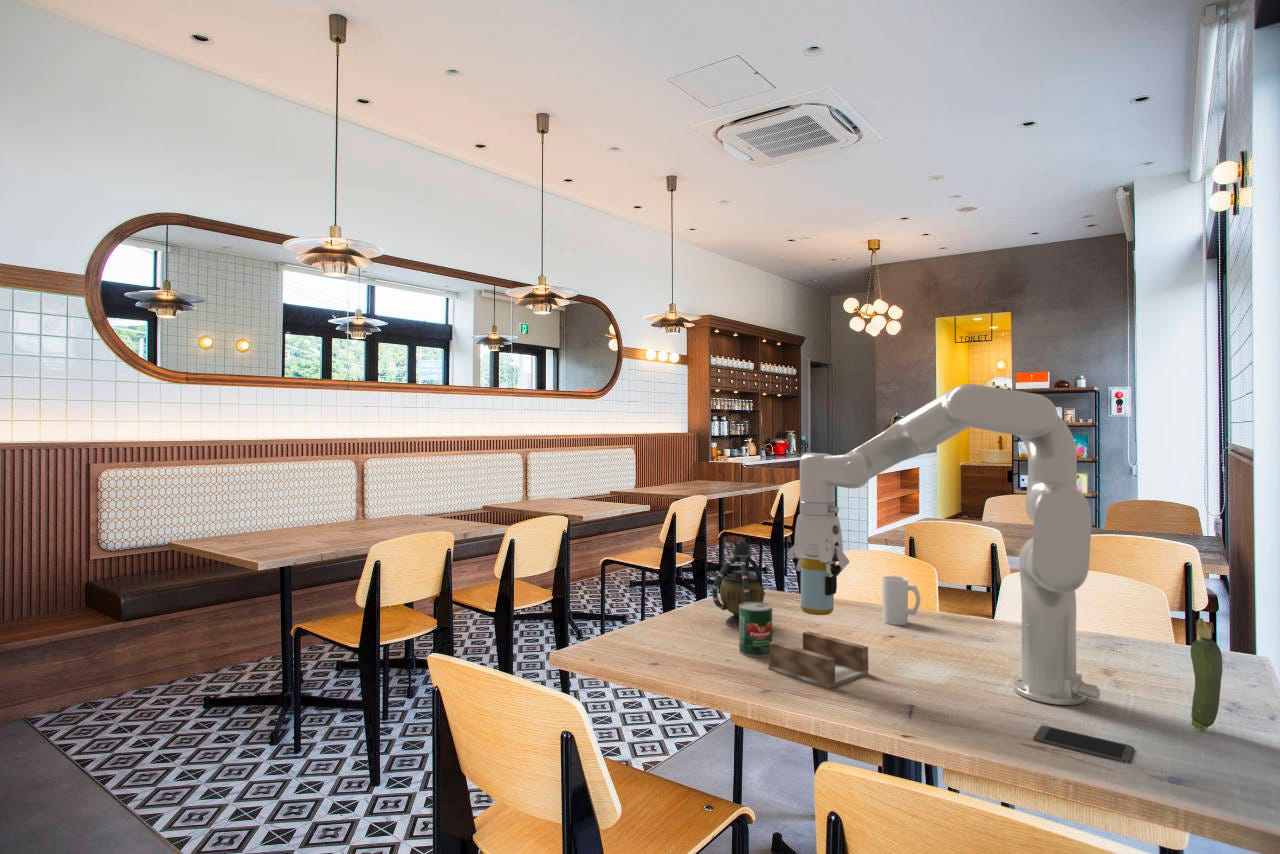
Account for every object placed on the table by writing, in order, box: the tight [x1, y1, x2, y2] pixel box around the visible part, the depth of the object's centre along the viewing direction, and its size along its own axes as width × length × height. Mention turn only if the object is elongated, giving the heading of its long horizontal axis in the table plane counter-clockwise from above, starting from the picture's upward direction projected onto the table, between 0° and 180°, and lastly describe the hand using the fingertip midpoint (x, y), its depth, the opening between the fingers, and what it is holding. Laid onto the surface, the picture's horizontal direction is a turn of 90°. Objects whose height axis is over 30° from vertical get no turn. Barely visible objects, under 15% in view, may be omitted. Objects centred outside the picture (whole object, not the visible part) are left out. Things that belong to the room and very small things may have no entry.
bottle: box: [800, 544, 835, 616], centre depth 158 cm, size 7×7×15 cm
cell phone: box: [1032, 725, 1135, 764], centre depth 121 cm, size 7×14×1 cm, turn 50°
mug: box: [881, 575, 921, 626], centre depth 196 cm, size 10×7×12 cm, turn 52°
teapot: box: [711, 538, 766, 629], centre depth 200 cm, size 12×25×23 cm, turn 151°
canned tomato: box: [738, 602, 773, 658], centre depth 172 cm, size 8×8×11 cm
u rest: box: [768, 630, 869, 689], centre depth 158 cm, size 16×14×6 cm
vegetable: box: [1190, 618, 1223, 732], centre depth 126 cm, size 4×4×20 cm
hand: (817, 590), depth 158 cm, fingers closed on bottle, 6 cm apart
